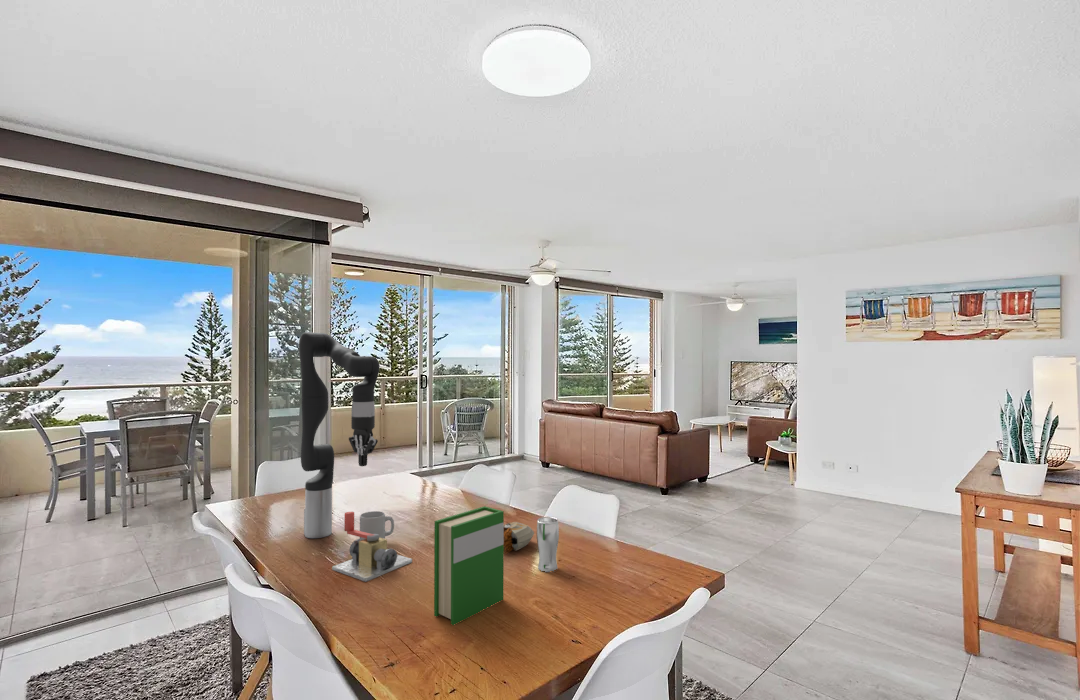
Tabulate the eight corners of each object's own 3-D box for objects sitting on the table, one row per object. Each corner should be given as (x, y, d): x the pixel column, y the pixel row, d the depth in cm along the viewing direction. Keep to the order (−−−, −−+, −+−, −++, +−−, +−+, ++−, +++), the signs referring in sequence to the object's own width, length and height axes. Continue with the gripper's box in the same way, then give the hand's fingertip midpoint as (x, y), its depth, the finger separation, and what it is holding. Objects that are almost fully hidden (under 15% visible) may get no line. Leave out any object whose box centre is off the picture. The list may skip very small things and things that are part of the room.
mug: (364, 552, 177) (364, 519, 177) (356, 545, 184) (356, 513, 184) (398, 544, 184) (398, 513, 184) (389, 538, 191) (389, 508, 191)
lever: (381, 538, 166) (381, 517, 166) (372, 542, 163) (372, 520, 163) (350, 531, 173) (350, 510, 173) (341, 534, 170) (341, 513, 170)
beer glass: (561, 565, 166) (561, 518, 166) (555, 574, 159) (554, 524, 159) (540, 562, 168) (540, 515, 168) (533, 571, 161) (533, 522, 161)
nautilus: (508, 564, 168) (472, 557, 176) (544, 541, 186) (510, 535, 194) (506, 540, 168) (470, 534, 176) (542, 518, 186) (508, 514, 194)
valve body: (332, 569, 162) (332, 543, 162) (379, 551, 177) (379, 528, 177) (365, 581, 153) (365, 554, 154) (412, 562, 168) (412, 537, 169)
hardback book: (453, 625, 128) (453, 527, 129) (434, 615, 133) (434, 521, 134) (503, 600, 142) (503, 511, 142) (484, 592, 147) (484, 506, 147)
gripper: (341, 414, 179) (341, 465, 179) (366, 417, 172) (366, 470, 171) (360, 412, 185) (359, 461, 185) (384, 415, 178) (384, 466, 178)
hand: (362, 465), depth 178 cm, fingers closed
